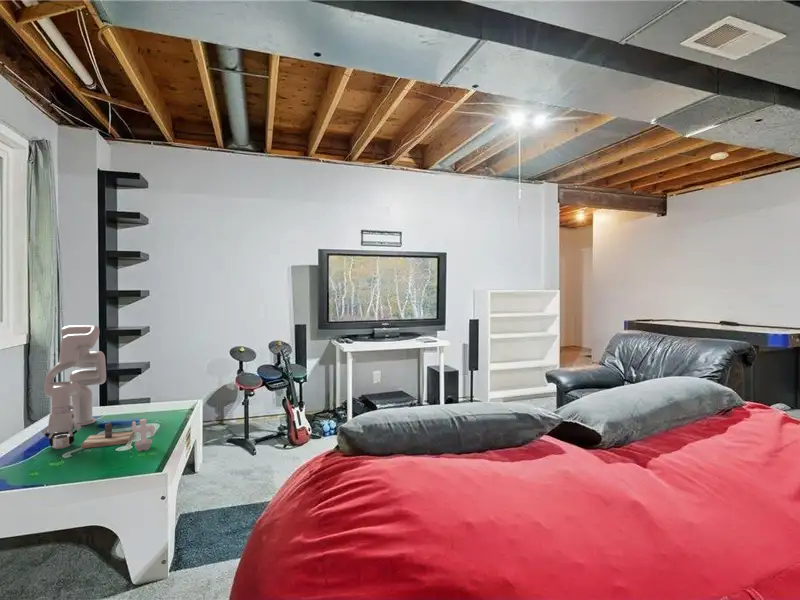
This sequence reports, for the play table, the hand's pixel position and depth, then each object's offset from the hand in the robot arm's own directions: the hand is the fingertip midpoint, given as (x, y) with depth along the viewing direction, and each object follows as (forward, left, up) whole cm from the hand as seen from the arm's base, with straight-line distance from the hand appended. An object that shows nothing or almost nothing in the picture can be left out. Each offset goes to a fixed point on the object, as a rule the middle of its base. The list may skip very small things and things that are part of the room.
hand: (61, 444), depth 217 cm
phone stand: (-14, -5, -1) cm, 15 cm away
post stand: (0, +20, -1) cm, 20 cm away
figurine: (+19, +39, -1) cm, 43 cm away
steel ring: (0, 0, -1) cm, 1 cm away
